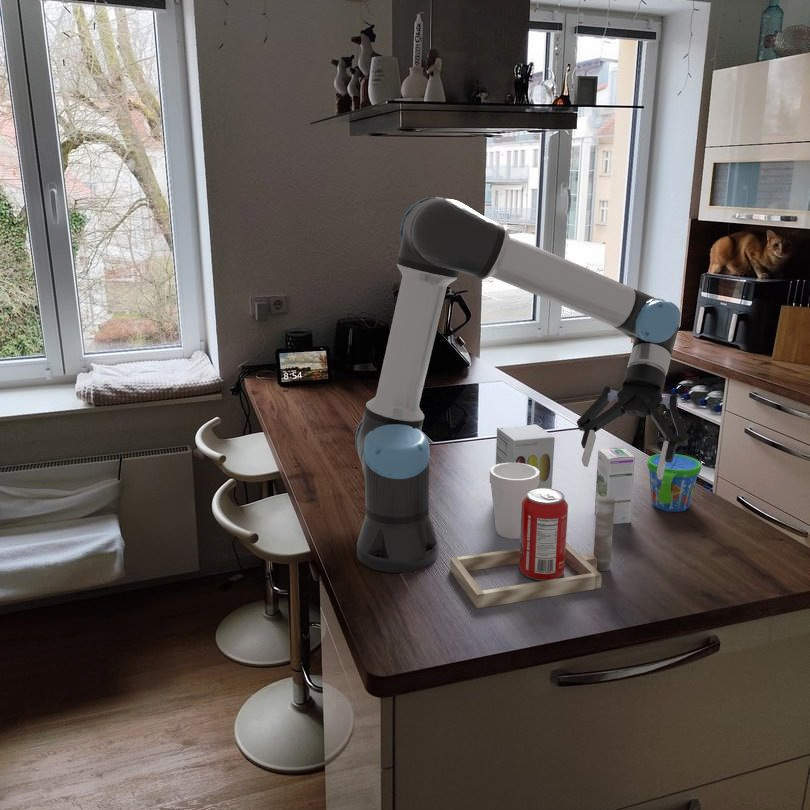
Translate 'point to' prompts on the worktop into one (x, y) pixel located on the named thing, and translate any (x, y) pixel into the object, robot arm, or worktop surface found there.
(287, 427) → the worktop surface
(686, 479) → the snack cup
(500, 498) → the foam cup
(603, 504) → the birch pull frame
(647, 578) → the worktop surface
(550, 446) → the supplement box
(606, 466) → the syrup box
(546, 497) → the soda can
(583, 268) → the robot arm
